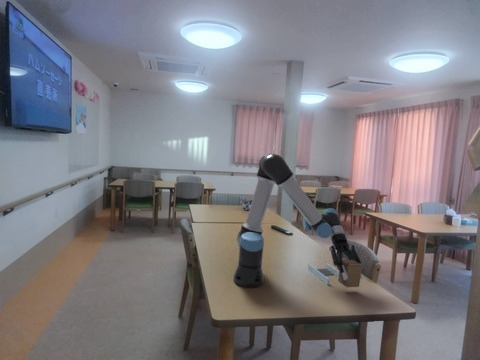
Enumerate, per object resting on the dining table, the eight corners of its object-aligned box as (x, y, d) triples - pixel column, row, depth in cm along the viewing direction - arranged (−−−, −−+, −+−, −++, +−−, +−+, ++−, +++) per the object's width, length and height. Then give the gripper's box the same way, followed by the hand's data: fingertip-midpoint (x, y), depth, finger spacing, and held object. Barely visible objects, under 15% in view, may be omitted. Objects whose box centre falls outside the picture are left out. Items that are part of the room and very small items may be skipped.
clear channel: (307, 269, 175) (308, 264, 175) (327, 268, 179) (327, 263, 178) (327, 284, 156) (327, 279, 156) (348, 283, 160) (349, 278, 159)
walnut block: (338, 280, 152) (340, 259, 151) (349, 280, 154) (352, 259, 153) (346, 287, 146) (349, 265, 145) (359, 286, 148) (362, 264, 147)
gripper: (350, 239, 166) (365, 281, 153) (317, 239, 161) (331, 282, 147) (357, 232, 161) (374, 275, 147) (324, 232, 155) (339, 276, 141)
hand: (353, 278), depth 147 cm, fingers closed on walnut block, 7 cm apart
